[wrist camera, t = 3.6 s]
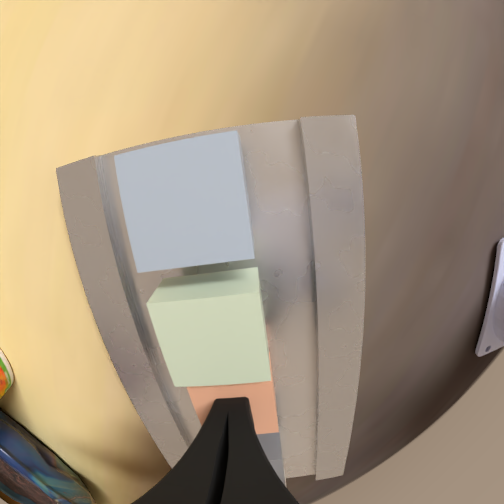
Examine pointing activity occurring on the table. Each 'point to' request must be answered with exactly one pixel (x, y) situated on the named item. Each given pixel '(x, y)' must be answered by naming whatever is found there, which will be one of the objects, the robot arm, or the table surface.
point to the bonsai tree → (35, 470)
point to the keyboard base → (271, 282)
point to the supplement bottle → (5, 374)
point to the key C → (257, 393)
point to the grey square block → (186, 202)
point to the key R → (273, 452)
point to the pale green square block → (212, 328)
